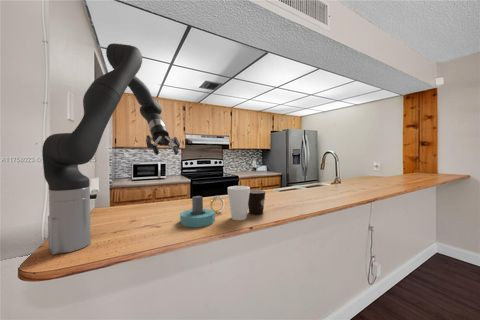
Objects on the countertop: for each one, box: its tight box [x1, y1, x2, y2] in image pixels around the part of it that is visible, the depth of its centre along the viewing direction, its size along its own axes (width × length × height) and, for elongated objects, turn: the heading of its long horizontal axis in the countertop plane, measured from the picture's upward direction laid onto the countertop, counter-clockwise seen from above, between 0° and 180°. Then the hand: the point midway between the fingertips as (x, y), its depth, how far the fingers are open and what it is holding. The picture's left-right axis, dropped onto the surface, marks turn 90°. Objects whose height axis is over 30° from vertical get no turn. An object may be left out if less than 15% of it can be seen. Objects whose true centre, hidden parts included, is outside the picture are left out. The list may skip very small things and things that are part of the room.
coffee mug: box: [248, 189, 266, 216], centre depth 95 cm, size 12×9×10 cm
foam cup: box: [227, 185, 251, 221], centre depth 87 cm, size 10×9×13 cm
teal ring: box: [179, 208, 216, 228], centre depth 83 cm, size 13×13×4 cm
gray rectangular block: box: [191, 195, 204, 215], centre depth 83 cm, size 3×3×10 cm
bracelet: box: [209, 195, 226, 214], centre depth 96 cm, size 7×3×8 cm, turn 115°
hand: (167, 153), depth 91 cm, fingers open, 8 cm apart
